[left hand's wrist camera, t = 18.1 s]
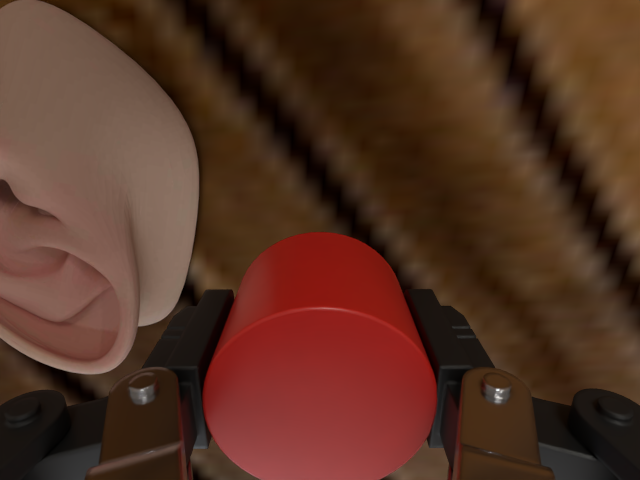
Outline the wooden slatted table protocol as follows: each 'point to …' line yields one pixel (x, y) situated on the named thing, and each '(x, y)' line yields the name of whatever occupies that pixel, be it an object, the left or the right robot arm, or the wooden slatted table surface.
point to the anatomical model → (87, 192)
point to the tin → (319, 366)
